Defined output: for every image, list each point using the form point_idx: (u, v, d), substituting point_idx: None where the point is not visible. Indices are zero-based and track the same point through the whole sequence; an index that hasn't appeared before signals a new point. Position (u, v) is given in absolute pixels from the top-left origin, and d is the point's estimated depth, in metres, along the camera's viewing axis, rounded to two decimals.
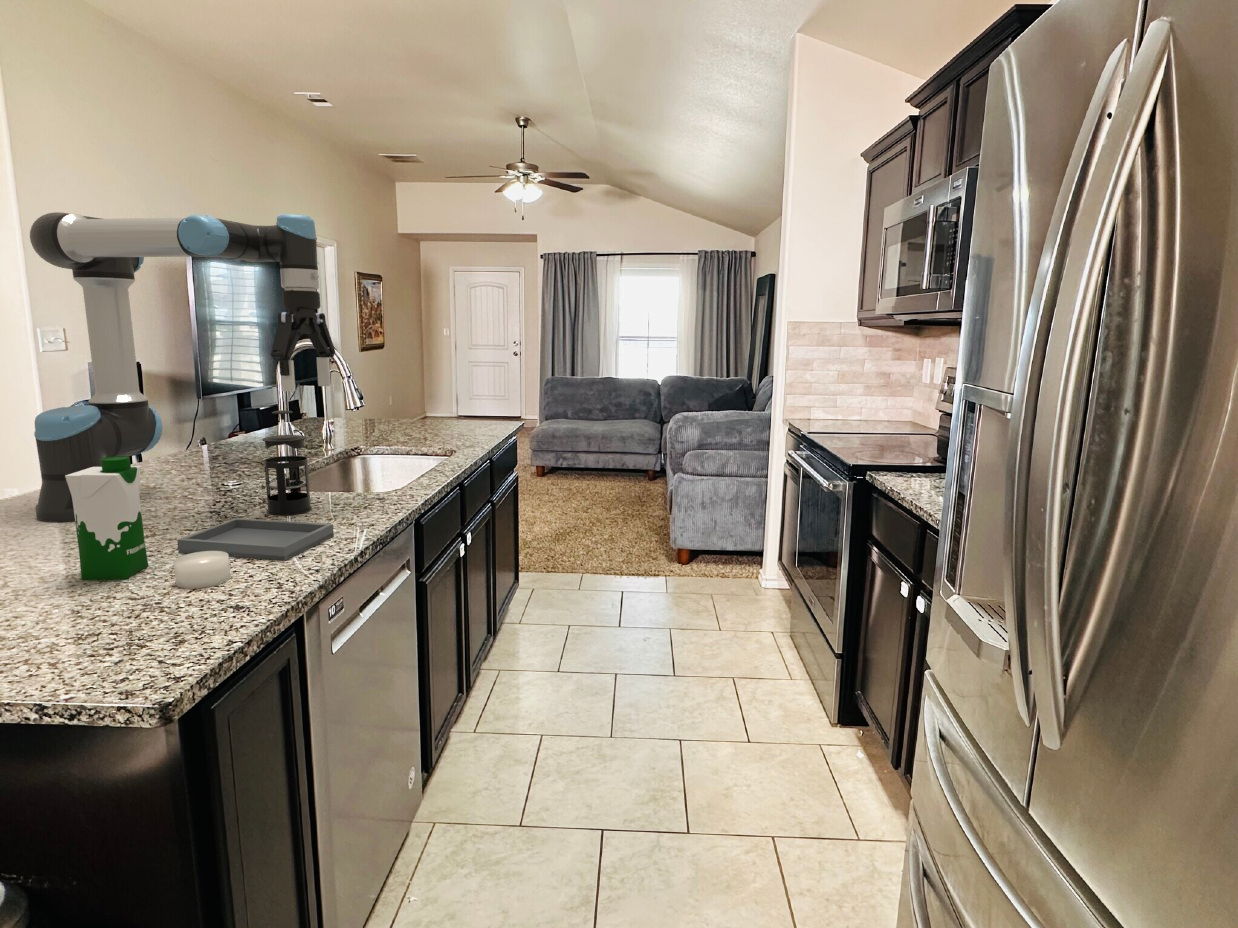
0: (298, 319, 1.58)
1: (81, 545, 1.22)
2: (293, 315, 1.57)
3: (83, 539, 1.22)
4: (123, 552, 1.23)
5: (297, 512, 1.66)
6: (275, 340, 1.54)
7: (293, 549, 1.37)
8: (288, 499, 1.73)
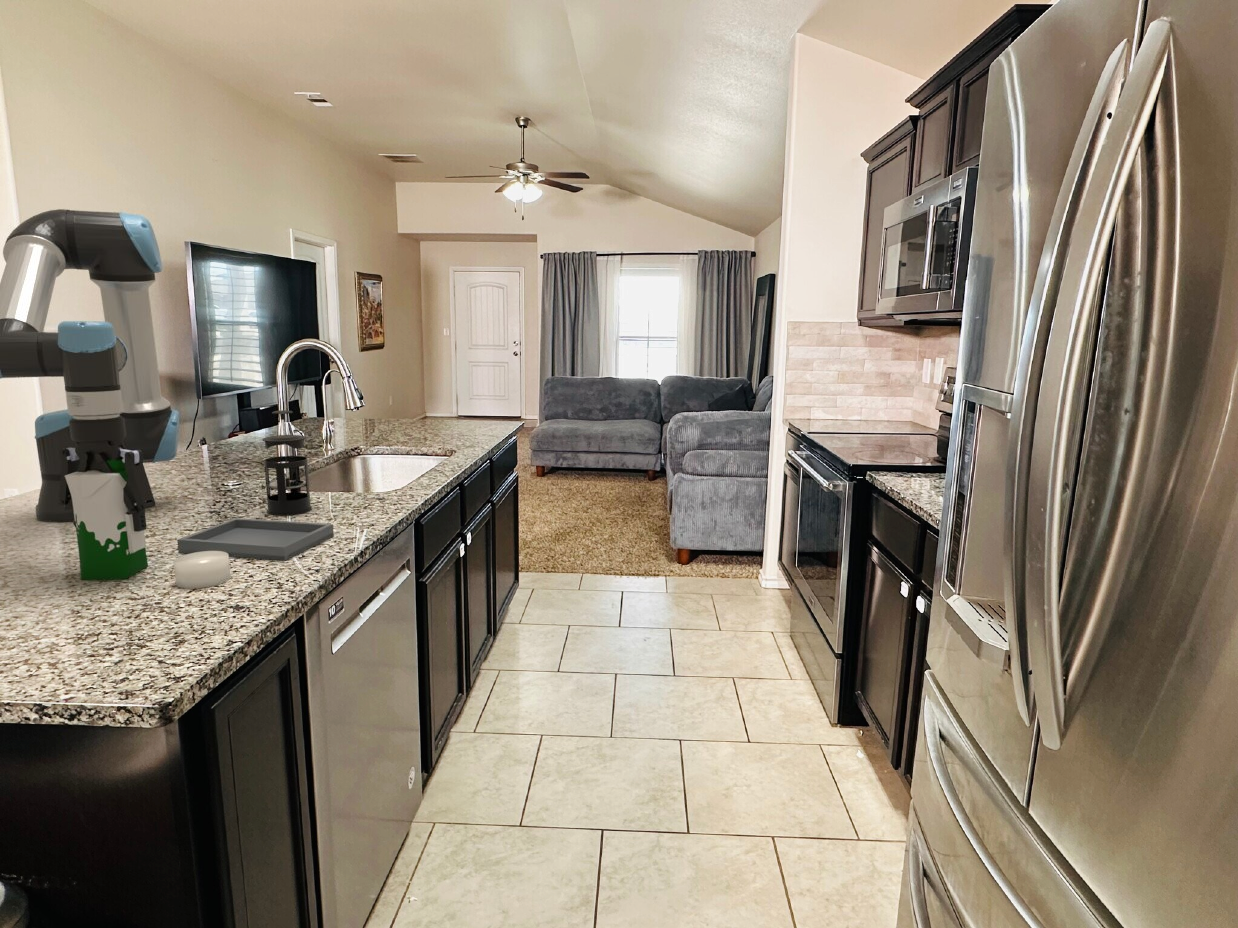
0: (79, 453, 1.23)
1: (81, 545, 1.22)
2: None
3: (83, 539, 1.22)
4: (122, 552, 1.23)
5: (297, 512, 1.66)
6: None
7: (293, 549, 1.37)
8: (288, 499, 1.73)
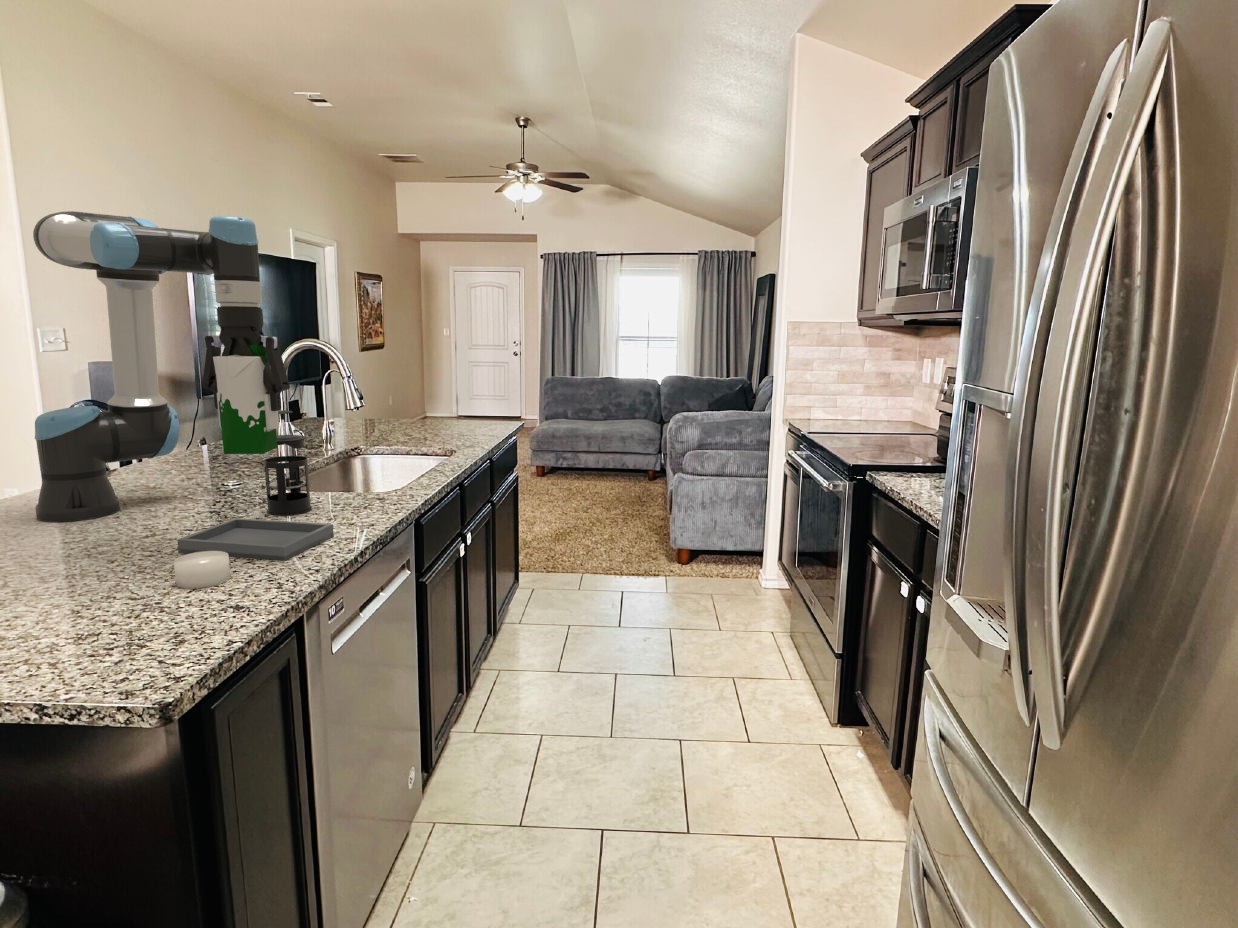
0: (223, 339, 1.36)
1: (224, 422, 1.36)
2: (219, 336, 1.37)
3: (227, 416, 1.35)
4: (261, 429, 1.37)
5: (297, 512, 1.66)
6: None
7: (293, 549, 1.37)
8: (288, 499, 1.73)
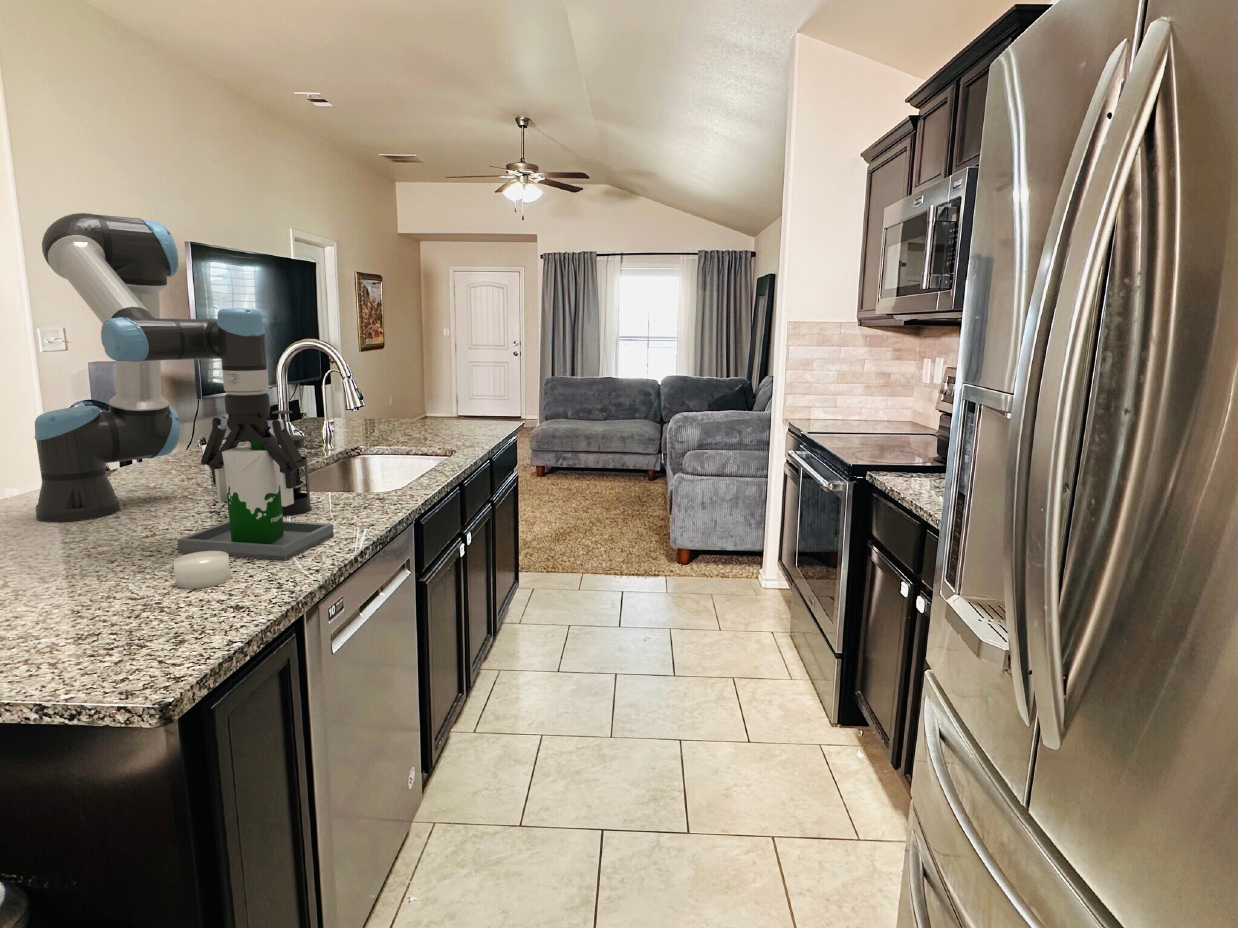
0: (230, 425, 1.39)
1: (232, 514, 1.39)
2: (227, 420, 1.40)
3: (235, 508, 1.39)
4: (268, 520, 1.40)
5: (297, 512, 1.66)
6: None
7: (293, 549, 1.37)
8: None
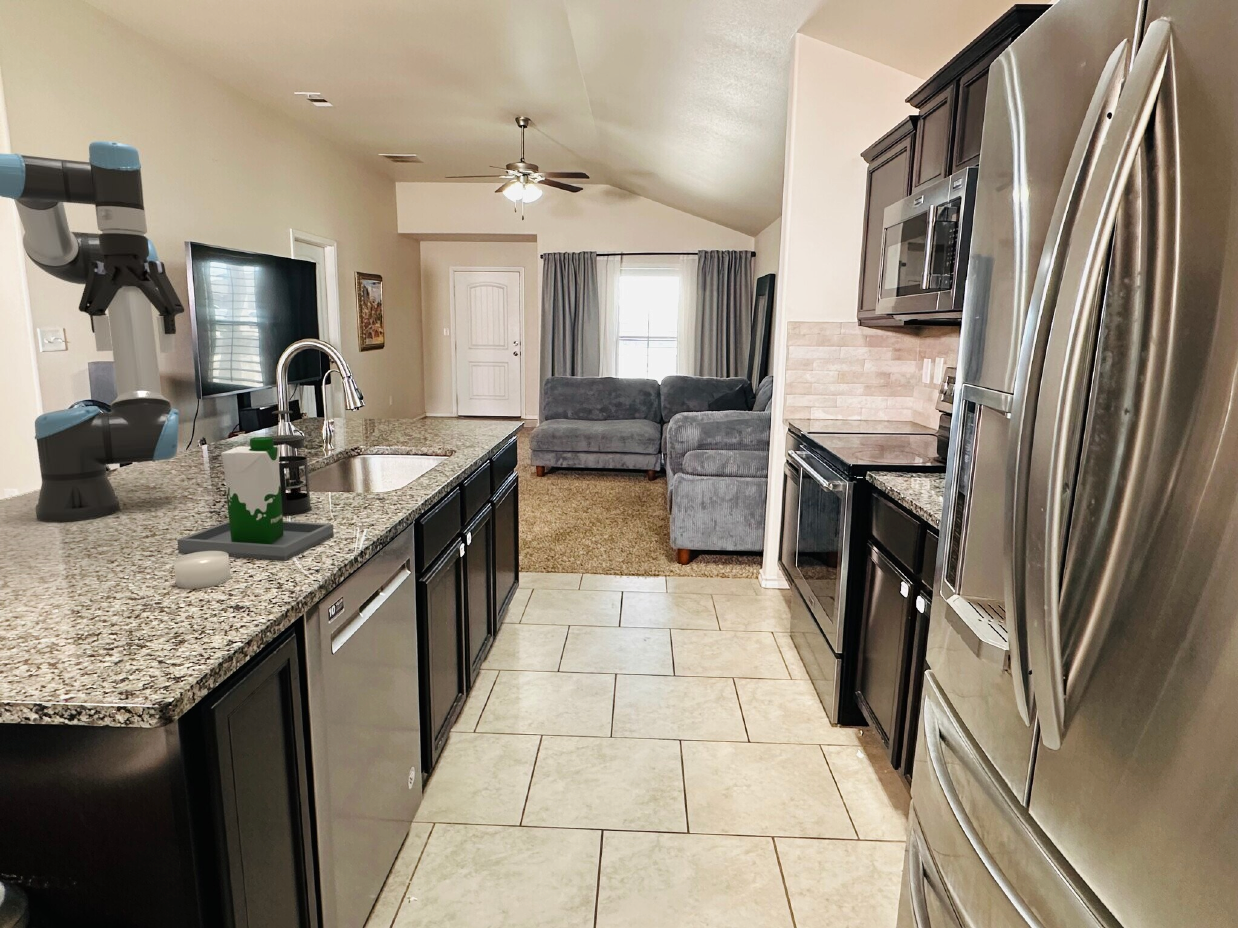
0: (106, 268, 1.36)
1: (232, 515, 1.39)
2: (104, 264, 1.36)
3: (235, 509, 1.39)
4: (268, 521, 1.40)
5: (297, 512, 1.66)
6: None
7: (293, 549, 1.37)
8: (288, 499, 1.73)
